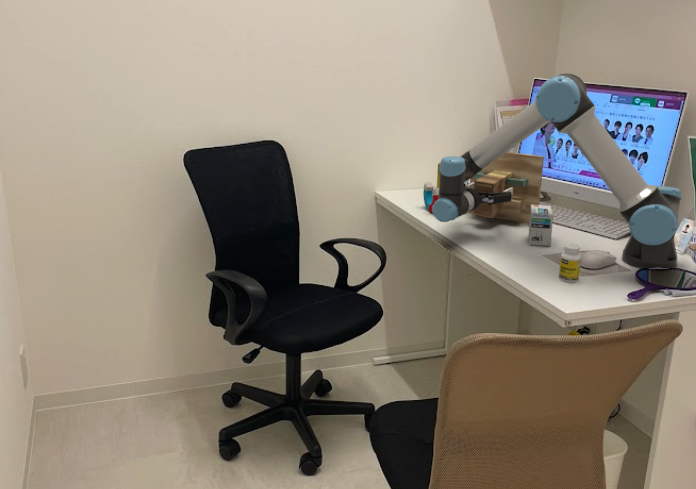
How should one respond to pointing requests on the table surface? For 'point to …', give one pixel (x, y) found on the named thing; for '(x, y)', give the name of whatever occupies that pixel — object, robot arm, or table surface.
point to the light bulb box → (540, 225)
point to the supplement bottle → (570, 263)
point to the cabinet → (491, 184)
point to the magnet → (430, 195)
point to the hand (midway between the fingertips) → (493, 188)
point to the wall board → (518, 184)
